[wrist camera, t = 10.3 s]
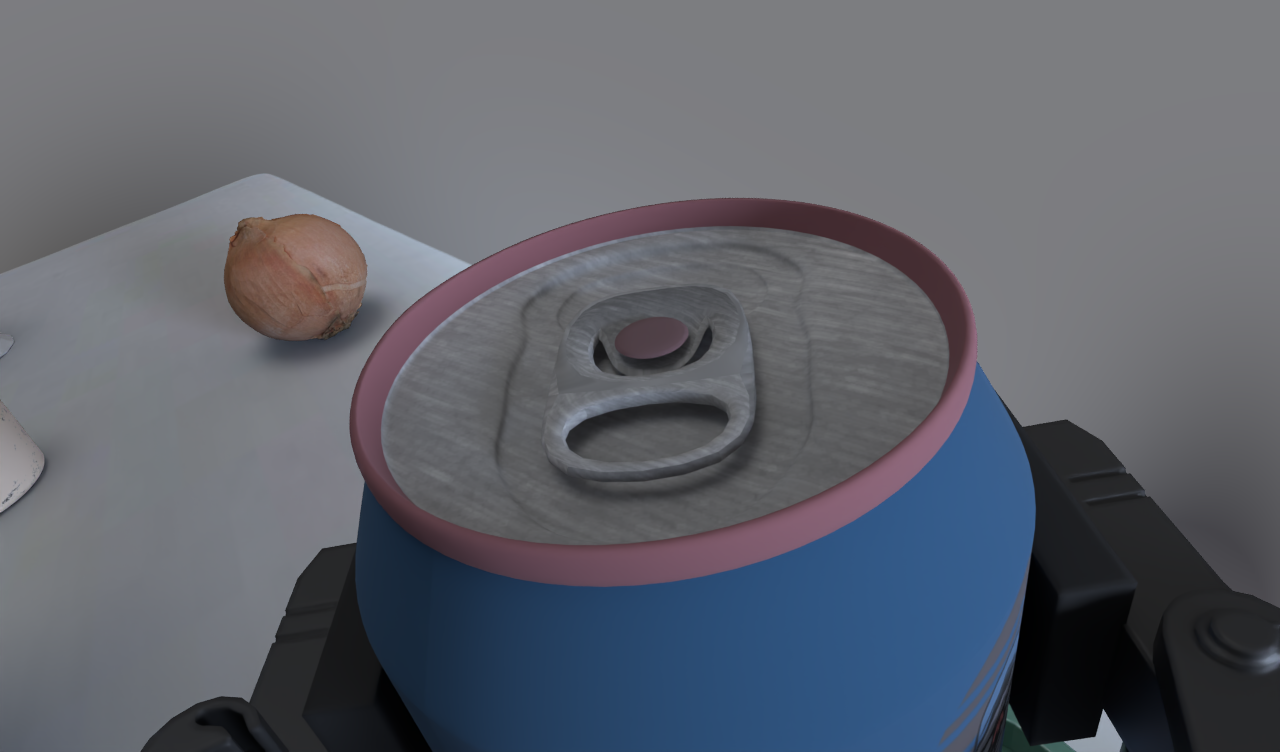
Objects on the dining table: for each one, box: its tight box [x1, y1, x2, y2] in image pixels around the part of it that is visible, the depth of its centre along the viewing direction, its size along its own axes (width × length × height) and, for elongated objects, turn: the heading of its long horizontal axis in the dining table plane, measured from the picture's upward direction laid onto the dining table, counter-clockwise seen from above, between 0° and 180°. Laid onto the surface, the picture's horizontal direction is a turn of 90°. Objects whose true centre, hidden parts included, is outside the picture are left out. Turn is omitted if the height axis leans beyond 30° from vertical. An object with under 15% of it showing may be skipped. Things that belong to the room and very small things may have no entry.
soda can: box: [350, 198, 1036, 752], centre depth 11 cm, size 7×7×12 cm
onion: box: [224, 214, 367, 341], centre depth 55 cm, size 10×9×10 cm
